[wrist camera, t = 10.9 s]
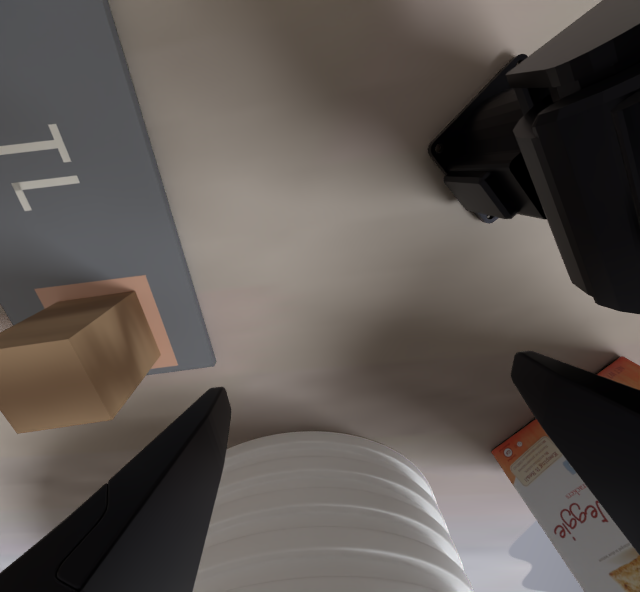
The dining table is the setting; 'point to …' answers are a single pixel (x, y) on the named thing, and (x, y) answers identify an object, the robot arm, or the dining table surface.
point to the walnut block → (74, 362)
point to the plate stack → (326, 521)
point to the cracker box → (573, 503)
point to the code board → (85, 179)
